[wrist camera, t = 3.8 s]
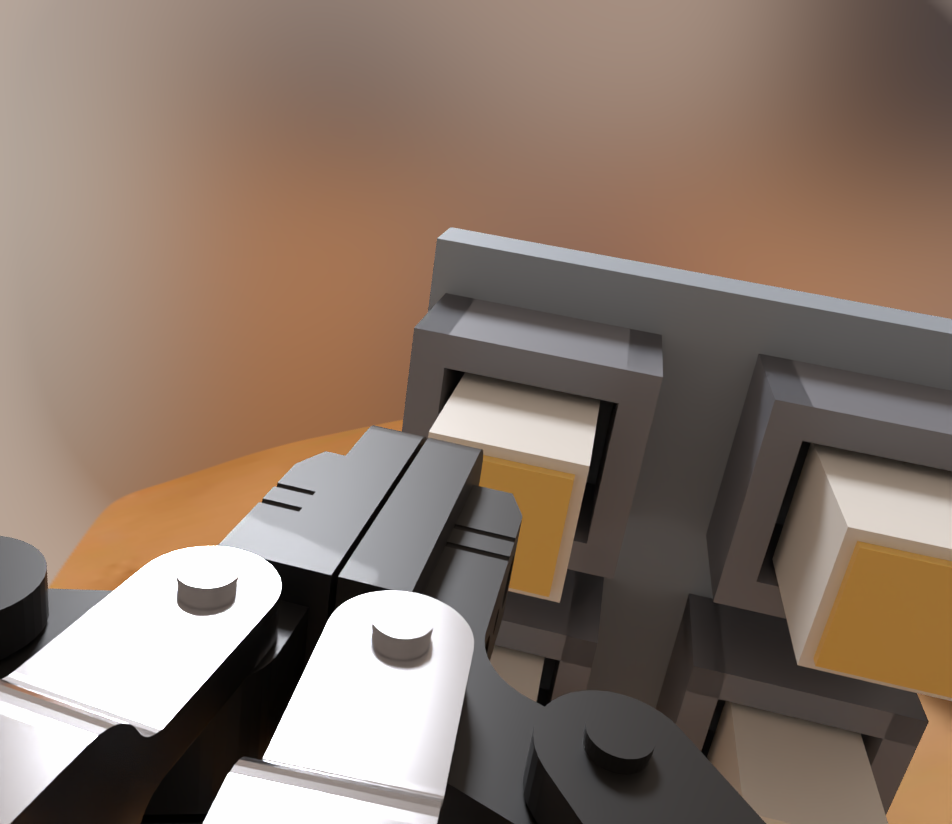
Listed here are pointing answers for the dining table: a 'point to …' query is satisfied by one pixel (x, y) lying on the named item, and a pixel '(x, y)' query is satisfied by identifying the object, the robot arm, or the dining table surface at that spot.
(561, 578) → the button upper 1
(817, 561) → the upper button
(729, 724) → the lower button
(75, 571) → the dining table surface
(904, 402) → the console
